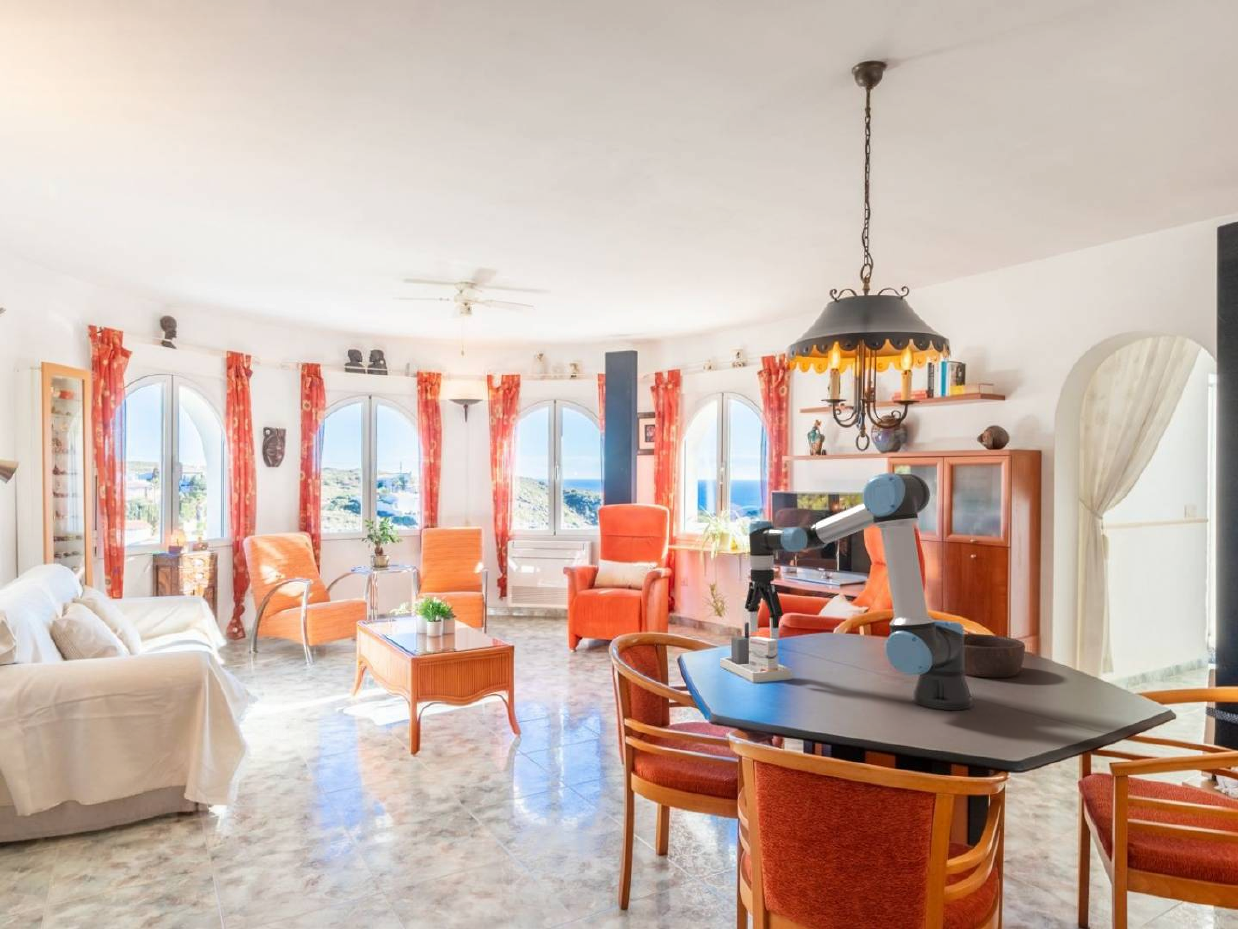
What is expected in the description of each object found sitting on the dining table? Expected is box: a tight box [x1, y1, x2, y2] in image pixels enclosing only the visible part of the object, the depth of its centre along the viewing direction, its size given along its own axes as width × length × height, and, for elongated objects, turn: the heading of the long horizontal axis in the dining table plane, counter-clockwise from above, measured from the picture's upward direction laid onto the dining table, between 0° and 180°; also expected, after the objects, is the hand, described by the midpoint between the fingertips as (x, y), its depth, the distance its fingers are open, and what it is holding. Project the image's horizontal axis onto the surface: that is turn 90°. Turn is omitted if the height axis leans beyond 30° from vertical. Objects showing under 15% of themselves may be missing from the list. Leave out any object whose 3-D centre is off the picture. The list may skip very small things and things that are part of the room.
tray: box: [719, 656, 793, 683], centre depth 251 cm, size 23×14×3 cm, turn 18°
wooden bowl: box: [964, 633, 1026, 679], centre depth 253 cm, size 25×25×10 cm
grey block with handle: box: [730, 621, 758, 665], centre depth 257 cm, size 5×9×15 cm, turn 108°
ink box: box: [749, 635, 779, 672], centre depth 246 cm, size 8×5×12 cm, turn 39°
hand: (763, 635), depth 246 cm, fingers open, 13 cm apart
